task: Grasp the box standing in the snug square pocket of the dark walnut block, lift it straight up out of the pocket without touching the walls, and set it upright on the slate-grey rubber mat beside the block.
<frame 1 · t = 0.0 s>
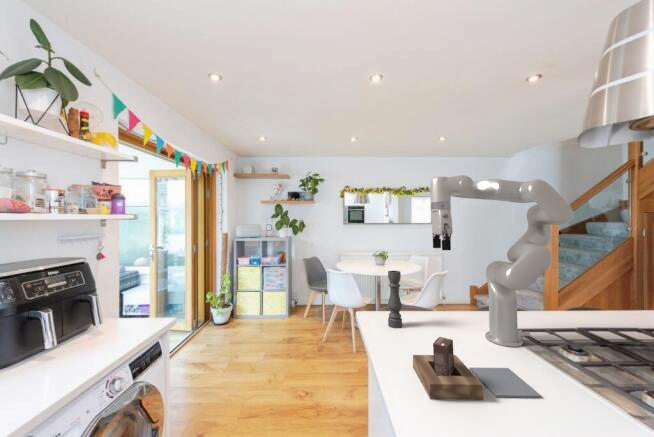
hand: (441, 249, 109), 37 cm above the worktop, tool pointing down, fingers open, 9 cm apart
box: (444, 382, 79), resting in pocket block
mat: (502, 382, 79), on the worktop
pocket block: (444, 381, 79), on the worktop
candle holder: (395, 326, 124), on the worktop
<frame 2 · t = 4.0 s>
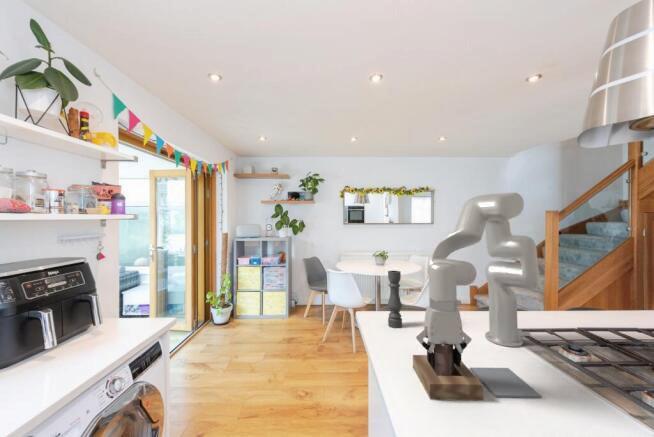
hand: (444, 363, 80), 5 cm above the worktop, tool pointing down, fingers closed on box, 6 cm apart
box: (444, 382, 79), resting in pocket block, touching gripper
everything else where it was.
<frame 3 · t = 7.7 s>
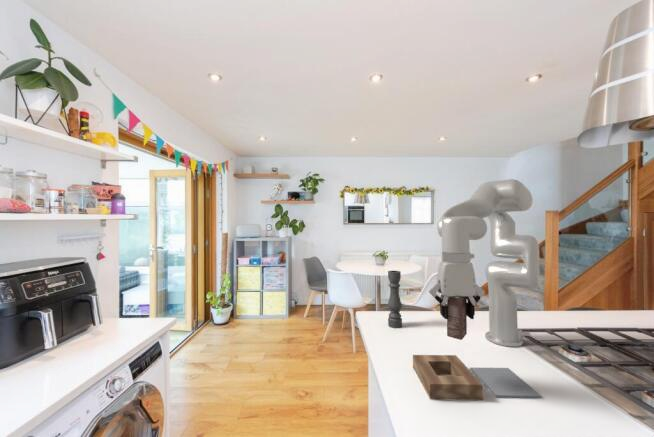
hand: (457, 317, 80), 19 cm above the worktop, tool pointing down, fingers closed on box, 6 cm apart
box: (456, 335, 80), point 13 cm above the worktop, touching gripper
everything else where it was.
when the fingers open (7 cm above the worktop, at t = 11.4 s): box drops 1 cm, resting on mat.
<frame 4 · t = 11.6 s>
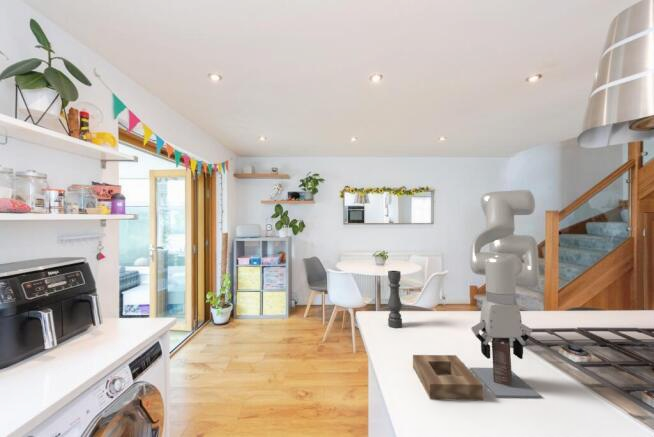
hand: (502, 356, 79), 8 cm above the worktop, tool pointing down, fingers open, 8 cm apart
box: (502, 380, 79), resting on mat
everything else where it was.
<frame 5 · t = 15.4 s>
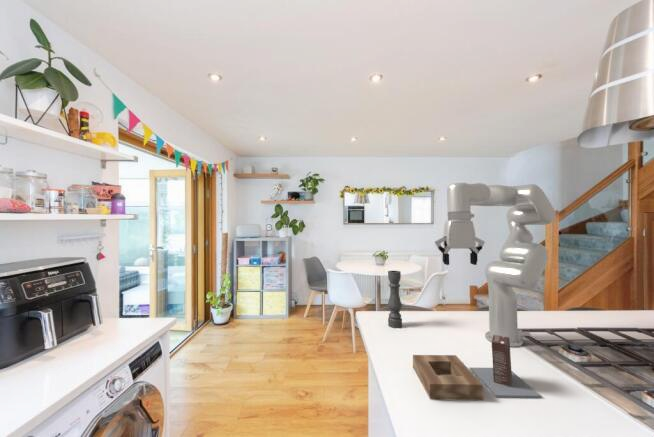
hand: (459, 264, 97), 32 cm above the worktop, tool pointing down, fingers open, 9 cm apart
nothing on the worktop moved.
at the end: box inside the target area on the mat (0.2 cm from its centre), point 0.4 cm above the mat's base; box tilted 0°; the gripper is holding nothing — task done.
